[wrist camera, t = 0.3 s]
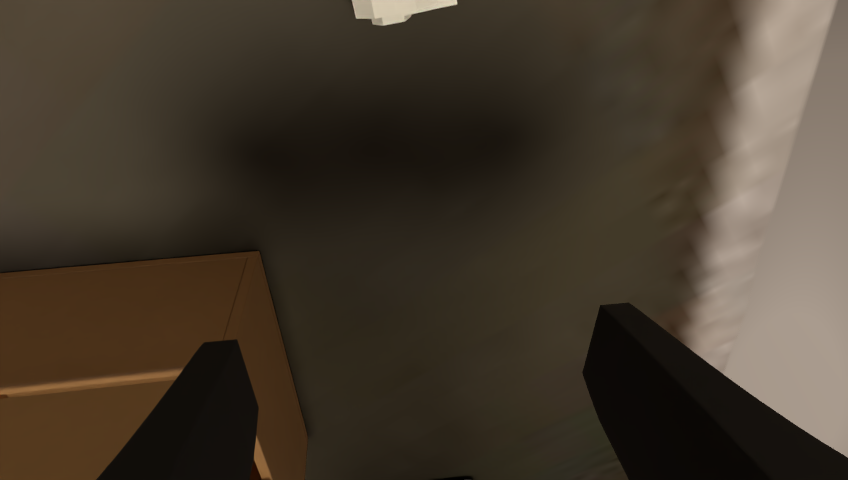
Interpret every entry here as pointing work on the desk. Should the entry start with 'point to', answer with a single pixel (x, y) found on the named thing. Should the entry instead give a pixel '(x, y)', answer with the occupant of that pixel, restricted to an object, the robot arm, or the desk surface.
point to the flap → (71, 430)
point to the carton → (152, 336)
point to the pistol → (395, 9)
